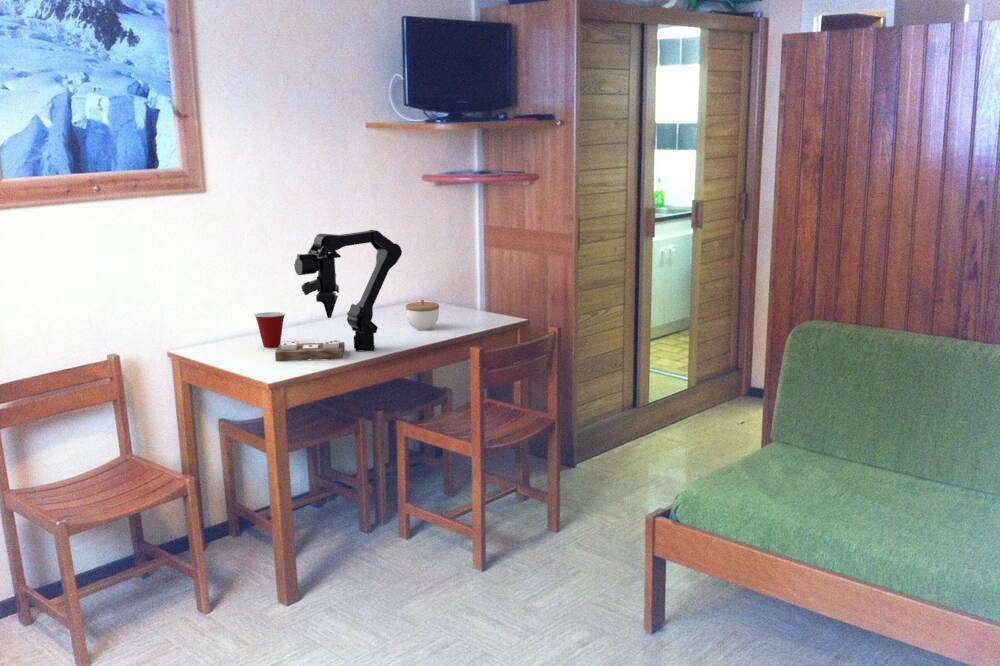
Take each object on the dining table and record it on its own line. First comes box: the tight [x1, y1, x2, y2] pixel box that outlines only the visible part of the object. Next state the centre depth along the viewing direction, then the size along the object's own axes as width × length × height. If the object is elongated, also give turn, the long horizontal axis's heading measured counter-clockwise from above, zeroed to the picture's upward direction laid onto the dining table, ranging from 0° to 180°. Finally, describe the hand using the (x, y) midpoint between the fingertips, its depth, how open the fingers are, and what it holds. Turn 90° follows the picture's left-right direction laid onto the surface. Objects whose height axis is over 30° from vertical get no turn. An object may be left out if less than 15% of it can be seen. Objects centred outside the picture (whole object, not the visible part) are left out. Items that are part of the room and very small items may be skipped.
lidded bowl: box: [405, 299, 440, 331], centre depth 362 cm, size 13×13×11 cm
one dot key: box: [302, 344, 319, 349], centre depth 321 cm, size 5×5×2 cm
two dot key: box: [280, 341, 299, 350], centre depth 320 cm, size 5×5×2 cm
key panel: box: [274, 341, 346, 362], centre depth 321 cm, size 22×12×3 cm, turn 96°
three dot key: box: [322, 339, 340, 349], centre depth 322 cm, size 5×5×2 cm
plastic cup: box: [253, 311, 286, 349], centre depth 335 cm, size 11×11×12 cm
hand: (329, 317), depth 320 cm, fingers closed
